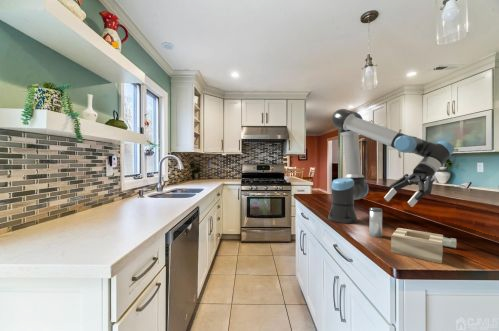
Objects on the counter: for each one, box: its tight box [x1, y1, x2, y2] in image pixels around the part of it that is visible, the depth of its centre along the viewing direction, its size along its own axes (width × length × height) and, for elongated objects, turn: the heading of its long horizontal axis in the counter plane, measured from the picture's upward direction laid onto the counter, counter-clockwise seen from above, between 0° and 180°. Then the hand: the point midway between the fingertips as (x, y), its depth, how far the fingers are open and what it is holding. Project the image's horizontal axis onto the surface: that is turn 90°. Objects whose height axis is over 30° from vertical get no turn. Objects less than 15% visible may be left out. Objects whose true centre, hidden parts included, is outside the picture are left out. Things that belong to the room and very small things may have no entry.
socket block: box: [390, 227, 444, 264], centre depth 83 cm, size 14×14×6 cm
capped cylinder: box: [368, 207, 383, 238], centre depth 102 cm, size 5×5×12 cm
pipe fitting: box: [443, 236, 457, 250], centre depth 90 cm, size 8×4×7 cm
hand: (397, 202), depth 103 cm, fingers open, 13 cm apart
